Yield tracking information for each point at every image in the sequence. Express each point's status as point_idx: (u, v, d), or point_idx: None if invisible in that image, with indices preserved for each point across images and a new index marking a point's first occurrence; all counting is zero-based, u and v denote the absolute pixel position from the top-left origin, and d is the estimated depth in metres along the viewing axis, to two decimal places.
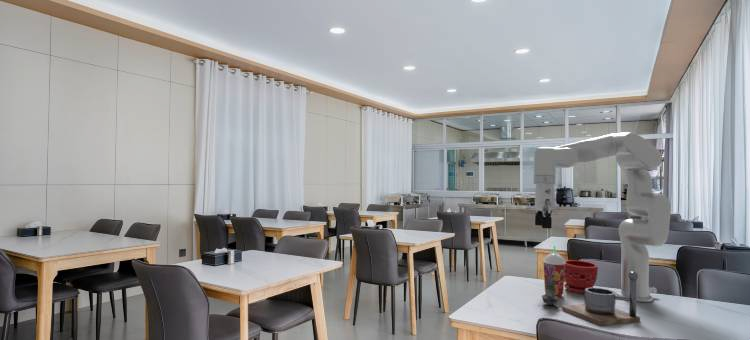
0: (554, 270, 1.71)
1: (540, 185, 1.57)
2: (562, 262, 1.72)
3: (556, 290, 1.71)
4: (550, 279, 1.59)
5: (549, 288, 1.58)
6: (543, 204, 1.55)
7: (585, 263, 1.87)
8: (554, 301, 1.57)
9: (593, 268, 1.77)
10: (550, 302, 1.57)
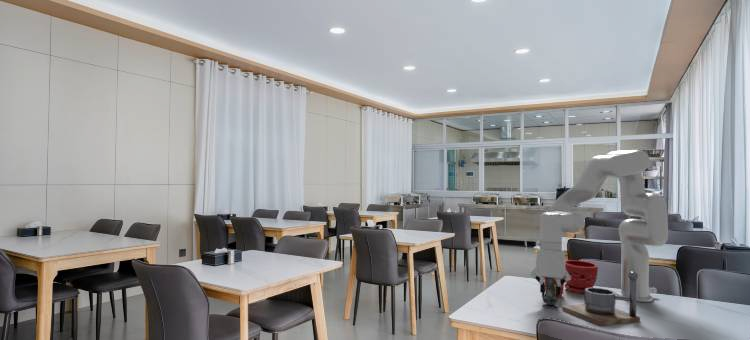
0: None
1: None
2: None
3: None
4: (550, 279, 1.59)
5: (549, 288, 1.58)
6: None
7: (585, 263, 1.87)
8: (554, 301, 1.57)
9: (593, 268, 1.77)
10: (550, 302, 1.57)
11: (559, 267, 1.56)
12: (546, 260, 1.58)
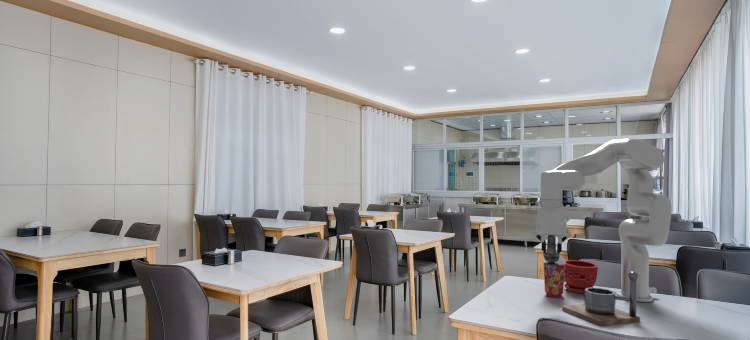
0: (554, 270, 1.71)
1: None
2: (562, 262, 1.72)
3: (556, 290, 1.71)
4: (551, 237, 1.59)
5: (550, 246, 1.59)
6: None
7: (585, 263, 1.87)
8: (555, 258, 1.57)
9: (593, 268, 1.77)
10: (551, 259, 1.58)
11: (560, 224, 1.56)
12: (547, 218, 1.58)
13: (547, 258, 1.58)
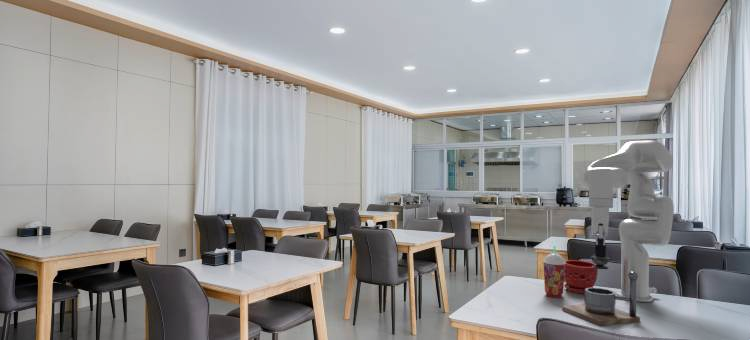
0: (554, 270, 1.71)
1: None
2: (562, 262, 1.72)
3: (556, 290, 1.71)
4: None
5: None
6: None
7: (585, 263, 1.87)
8: (593, 260, 1.50)
9: (593, 268, 1.77)
10: (592, 260, 1.52)
11: None
12: None
13: None
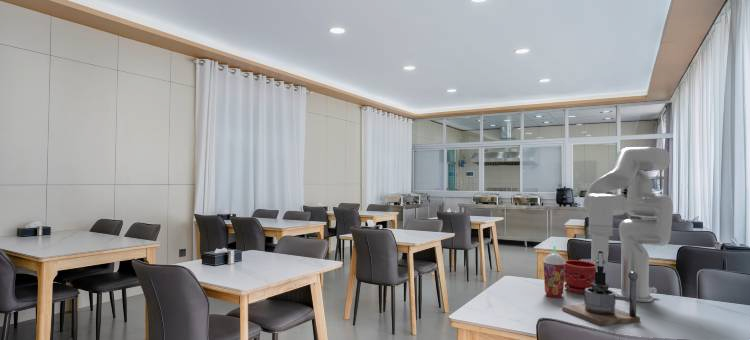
0: (554, 270, 1.71)
1: None
2: (562, 262, 1.72)
3: (556, 290, 1.71)
4: None
5: None
6: None
7: (585, 263, 1.87)
8: (593, 287, 1.50)
9: (593, 268, 1.77)
10: (592, 287, 1.51)
11: (591, 251, 1.49)
12: None
13: None
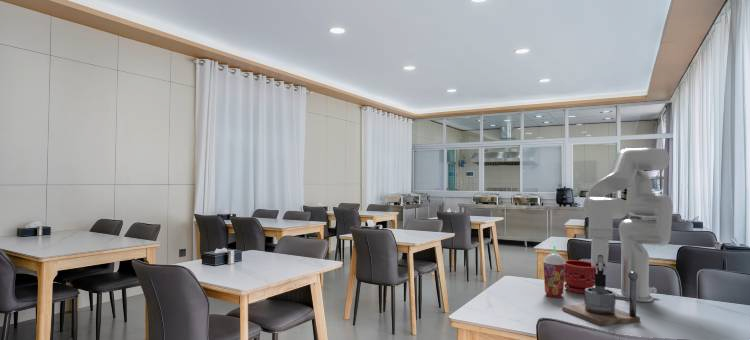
0: (554, 270, 1.71)
1: None
2: (562, 262, 1.72)
3: (556, 290, 1.71)
4: None
5: None
6: None
7: (585, 263, 1.87)
8: None
9: (593, 268, 1.77)
10: None
11: (591, 254, 1.49)
12: None
13: None
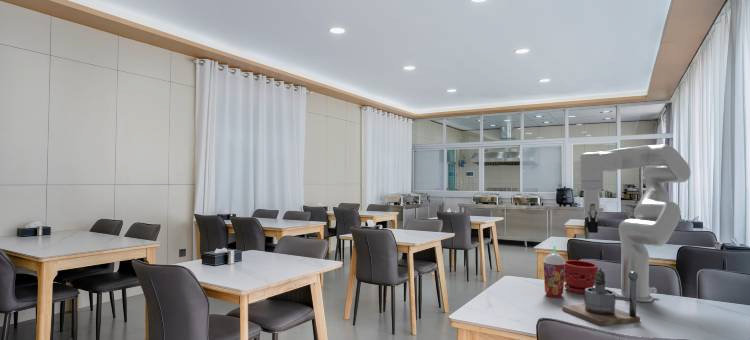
0: (554, 270, 1.71)
1: None
2: (562, 262, 1.72)
3: (556, 290, 1.71)
4: (596, 272, 1.51)
5: (595, 281, 1.51)
6: None
7: (585, 263, 1.87)
8: None
9: (593, 268, 1.77)
10: None
11: (584, 204, 1.61)
12: None
13: None
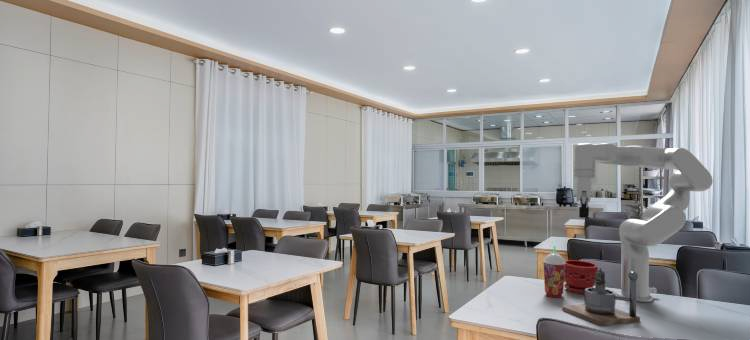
0: (554, 270, 1.71)
1: None
2: (562, 262, 1.72)
3: (556, 290, 1.71)
4: (596, 272, 1.51)
5: (595, 281, 1.51)
6: None
7: (585, 263, 1.87)
8: None
9: (593, 268, 1.77)
10: None
11: None
12: None
13: None
